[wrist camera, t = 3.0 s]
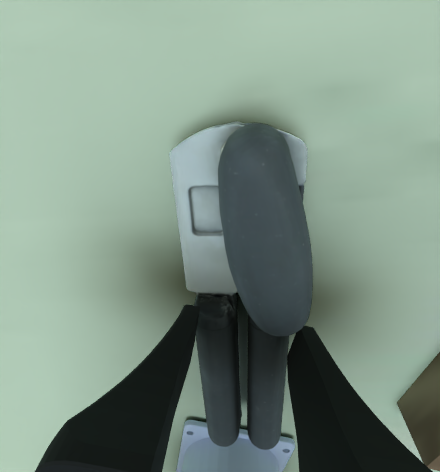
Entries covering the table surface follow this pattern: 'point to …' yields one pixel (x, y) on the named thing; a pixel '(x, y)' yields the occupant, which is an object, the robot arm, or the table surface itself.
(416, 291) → the table surface
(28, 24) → the table surface
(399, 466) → the robot arm
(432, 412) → the walnut block
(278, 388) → the can opener
